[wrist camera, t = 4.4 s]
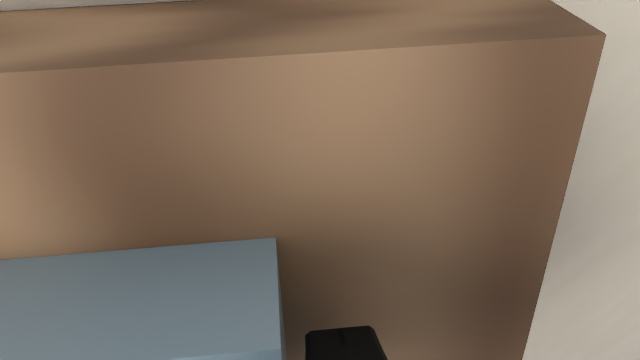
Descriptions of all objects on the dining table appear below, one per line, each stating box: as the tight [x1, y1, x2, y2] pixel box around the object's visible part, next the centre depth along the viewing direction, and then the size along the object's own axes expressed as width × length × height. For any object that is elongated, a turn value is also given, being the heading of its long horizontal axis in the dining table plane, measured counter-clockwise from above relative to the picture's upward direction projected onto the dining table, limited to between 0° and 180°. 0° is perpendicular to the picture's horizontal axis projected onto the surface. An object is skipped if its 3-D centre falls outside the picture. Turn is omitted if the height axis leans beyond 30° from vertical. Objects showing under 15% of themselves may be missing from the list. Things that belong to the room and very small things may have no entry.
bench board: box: [0, 0, 606, 360], centre depth 13 cm, size 14×12×3 cm
